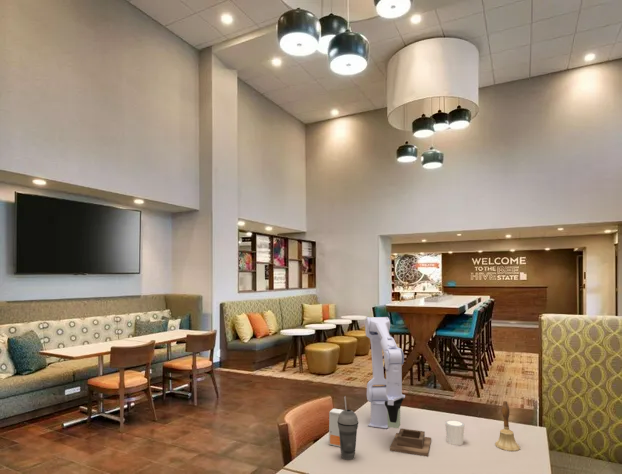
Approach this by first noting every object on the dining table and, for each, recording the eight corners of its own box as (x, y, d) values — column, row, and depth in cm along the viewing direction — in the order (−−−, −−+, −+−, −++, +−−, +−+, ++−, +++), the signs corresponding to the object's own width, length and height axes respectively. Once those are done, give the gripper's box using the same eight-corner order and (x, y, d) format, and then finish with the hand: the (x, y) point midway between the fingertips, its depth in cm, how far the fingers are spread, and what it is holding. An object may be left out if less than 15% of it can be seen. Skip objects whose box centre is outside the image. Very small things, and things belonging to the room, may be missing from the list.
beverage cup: (352, 463, 138) (352, 401, 140) (333, 458, 142) (333, 397, 143) (362, 455, 144) (361, 395, 146) (343, 450, 148) (343, 392, 150)
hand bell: (495, 449, 150) (494, 403, 152) (494, 440, 158) (493, 397, 159) (521, 452, 147) (519, 406, 149) (518, 444, 155) (517, 399, 157)
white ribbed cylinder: (442, 442, 156) (441, 423, 157) (450, 437, 161) (449, 418, 162) (460, 447, 151) (459, 427, 152) (467, 442, 156) (467, 422, 157)
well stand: (396, 435, 162) (396, 424, 163) (431, 440, 158) (431, 429, 158) (389, 450, 148) (389, 438, 149) (427, 456, 144) (427, 444, 144)
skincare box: (328, 445, 153) (328, 411, 154) (333, 441, 157) (333, 408, 158) (343, 448, 150) (343, 413, 151) (348, 444, 154) (348, 410, 155)
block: (389, 423, 156) (389, 406, 157) (400, 424, 155) (400, 408, 155) (387, 426, 153) (387, 409, 153) (398, 428, 151) (398, 411, 152)
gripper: (401, 388, 147) (402, 428, 146) (407, 378, 160) (408, 415, 159) (381, 386, 149) (382, 425, 148) (389, 376, 163) (389, 413, 162)
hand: (394, 420), depth 154 cm, fingers closed on block, 4 cm apart
